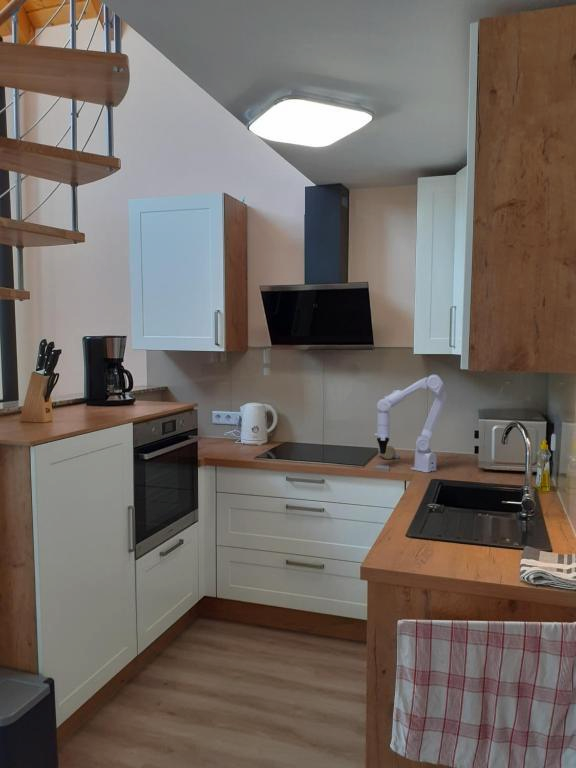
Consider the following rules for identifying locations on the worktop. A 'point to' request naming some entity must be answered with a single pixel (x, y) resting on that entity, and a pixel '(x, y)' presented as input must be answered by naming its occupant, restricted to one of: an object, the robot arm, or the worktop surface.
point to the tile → (382, 468)
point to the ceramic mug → (389, 452)
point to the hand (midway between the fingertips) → (382, 453)
